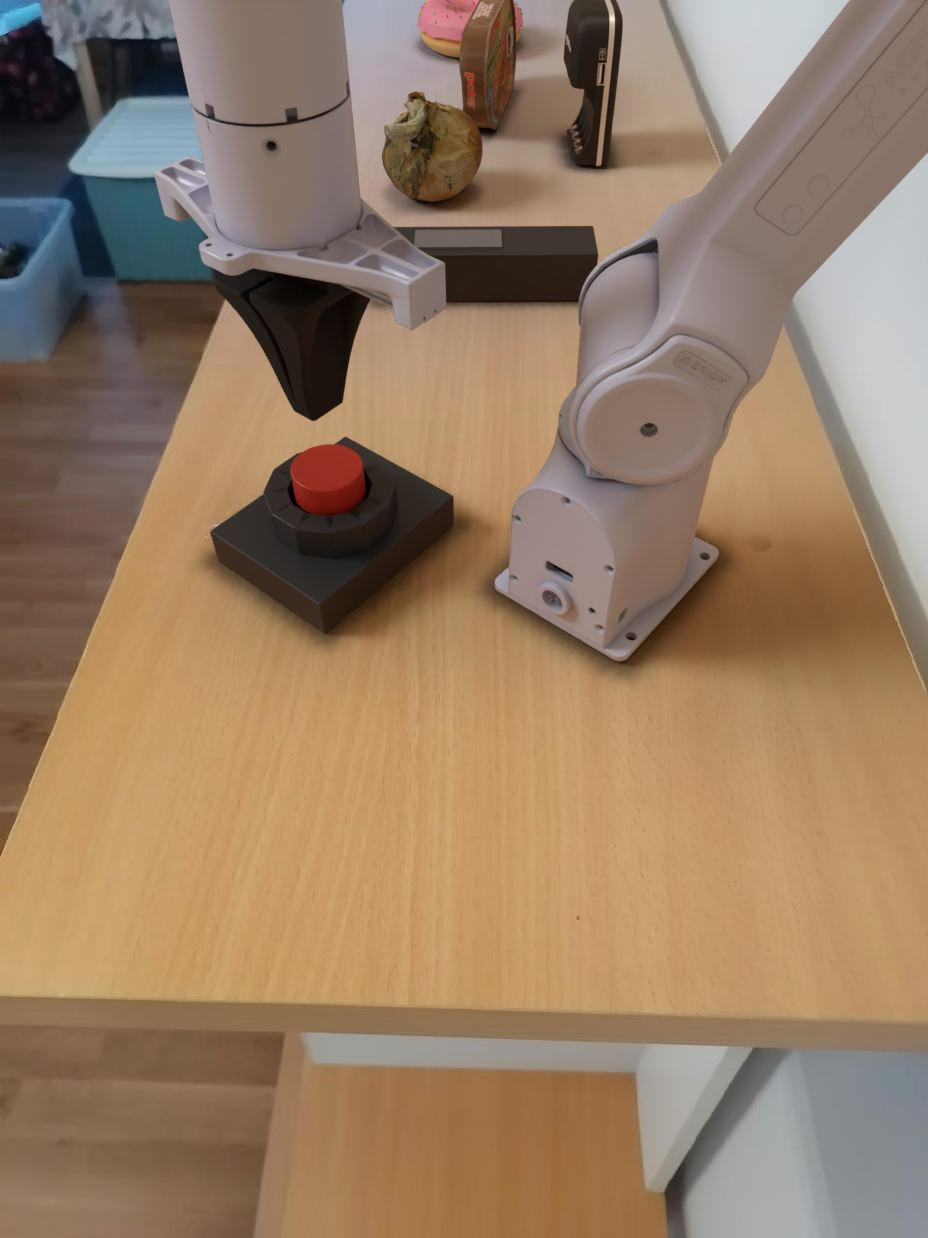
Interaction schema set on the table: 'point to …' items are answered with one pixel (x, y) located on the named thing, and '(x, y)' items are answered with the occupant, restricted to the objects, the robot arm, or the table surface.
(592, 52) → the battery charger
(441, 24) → the doughnut
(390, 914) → the table surface
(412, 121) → the onion
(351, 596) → the button block
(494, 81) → the tin
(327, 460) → the button
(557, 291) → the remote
